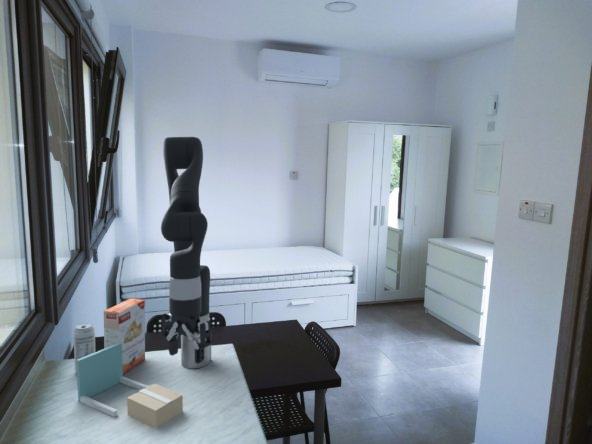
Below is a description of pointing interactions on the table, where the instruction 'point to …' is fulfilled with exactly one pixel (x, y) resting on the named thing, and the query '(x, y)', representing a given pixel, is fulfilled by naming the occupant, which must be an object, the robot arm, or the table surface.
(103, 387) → the display stand
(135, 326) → the cracker box
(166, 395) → the kraft carton
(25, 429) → the table surface
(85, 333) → the energy drink can
